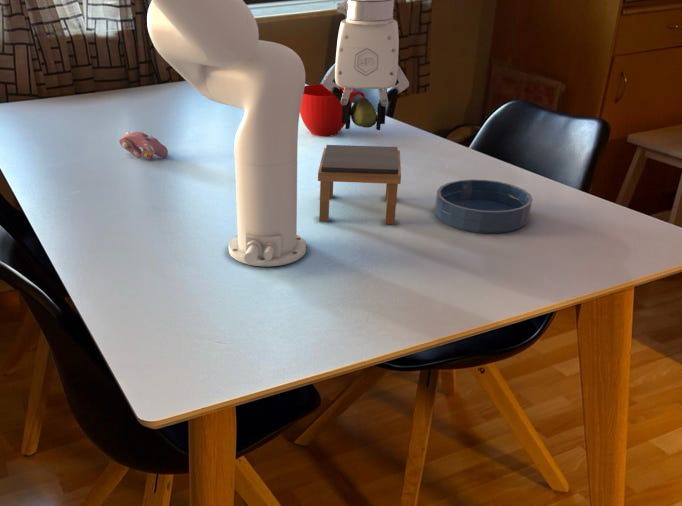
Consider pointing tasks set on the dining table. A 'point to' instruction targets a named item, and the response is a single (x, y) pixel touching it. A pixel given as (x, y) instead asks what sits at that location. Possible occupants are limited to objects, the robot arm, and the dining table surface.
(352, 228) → the dining table surface
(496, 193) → the bowl
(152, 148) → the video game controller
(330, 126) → the ceramic cup
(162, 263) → the dining table surface
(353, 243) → the dining table surface
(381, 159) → the stool
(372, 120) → the lime
